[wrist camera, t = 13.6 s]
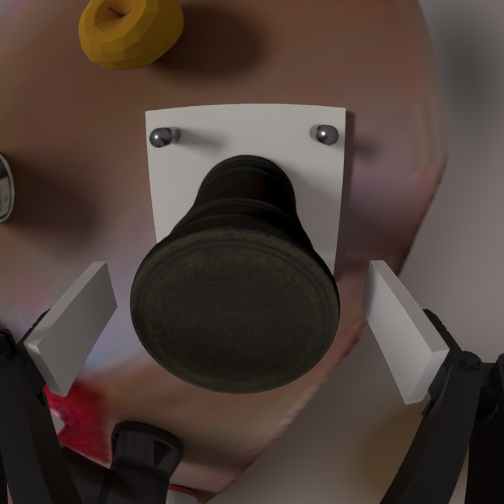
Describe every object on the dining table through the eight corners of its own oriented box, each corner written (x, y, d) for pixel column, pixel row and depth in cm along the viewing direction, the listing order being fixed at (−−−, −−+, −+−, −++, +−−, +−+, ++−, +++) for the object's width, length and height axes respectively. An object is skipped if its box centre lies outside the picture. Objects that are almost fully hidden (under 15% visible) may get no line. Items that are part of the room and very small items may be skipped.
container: (224, 260, 30) (195, 415, 14) (181, 180, 26) (80, 277, 10) (308, 225, 28) (369, 365, 12) (271, 138, 25) (304, 172, 8)
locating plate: (329, 279, 32) (340, 306, 27) (166, 279, 32) (153, 306, 28) (341, 108, 24) (360, 106, 20) (149, 111, 25) (128, 111, 20)
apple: (215, 30, 21) (198, -5, 13) (147, 95, 24) (103, 89, 16) (155, -15, 19) (122, -52, 11) (93, 47, 21) (42, 32, 13)
